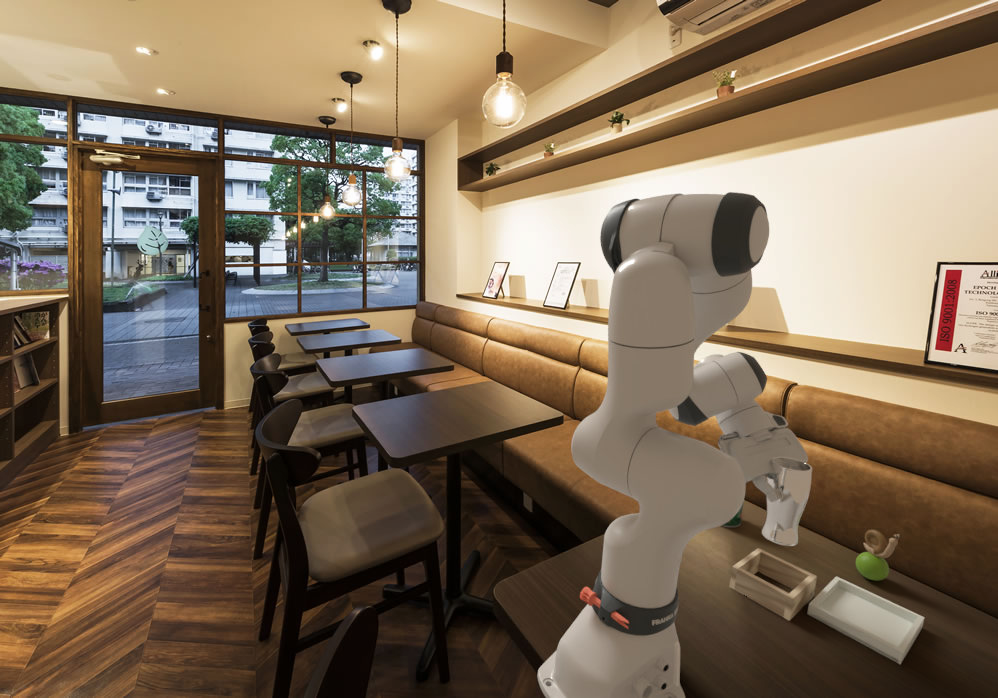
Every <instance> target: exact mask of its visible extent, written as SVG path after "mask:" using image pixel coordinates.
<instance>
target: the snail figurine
mask: <svg viewBox="0 0 998 698" xmlns="http://www.w3.org/2000/svg"><path fill="white" fill-rule="evenodd" d="M900 537H901V534H899V533H897V534H893V537H890V538H888V541H887V539H886V537H885V536H884V534H882V533H881V532H880V531H879V530H876V529H868V530H867V531H866V532H865V534H864V539H865V542H863V547H864V548H865V550H866V551H864V552H861V553H859V554H858V556H857V557H856V559H855V567H856V569H857V571H858V572H859V574H861V575H862V576H863V577H864V578H866V579H867V580H871V581H877V582H879V581H882V580H884V579H886V578H887V577H888V575H889V573H890V568H889V567H890V566H889V564H888V562H887V561H886V560H885V559H887V558H889V557H890V556H891V555H892V554H893V553H894V551H895V549H896V547H897V545H898V544H899V543H898V542H899V541H898V540H899V538H900Z"/></svg>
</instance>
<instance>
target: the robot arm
mask: <svg viewBox="0 0 998 698" xmlns="http://www.w3.org/2000/svg"><path fill="white" fill-rule="evenodd" d="M769 238H770V222H769V218H768V213H767V209H766V207H765V205H764V203H763V202H761V200H759V199H758V198H757V197H756V196H755V195H752V194H750V193H743V192H736V191H735V192H731V191H730V192H726V193H725V194H722V193H721V194H719V193H689V194H683V193H673V194H663V195H657V196H651V197H648V198H647V197H646V198H643V199H639V198H633V199H628V200H625V201H622V202H620V203H617V204H616V205H614V206H612V207H611V208H610V210H609V211H608V213H607V215H606V216H605V218H604V220H603V221H602V225H601V229H600V237H599V239H600V248H601V251H602V254H603V257H604V260H605V261H606V262H607V263H606V264H608V266H609V267H610V269H611V270H612V271H611V272H612V273H613V280H612V285H611V291H610V295H609V296H610V298H609V305H608V306H609V308H608V317H607V339H608V341H607V342H608V343H607V345H608V346H607V347H608V348H607V349H608V352H607V354H608V355H607V356H608V357H607V358H608V359H607V360H608V362H607V382H606V383H607V385H606V391H605V394H604V397H603V399H602V402H601V404H600V405H599V407H598V408H597V410H596V411H594V412H592V413H591V414H589V415H588V416H586V417H585V418H583V419H582V421H581V422H580V423H579V424H578V425H577V427H576V428H575V431H574V432H573V434H572V435H573V436H572V439H571V443H570V444H571V446H570V448H571V456H572V460H573V462H574V464H575V466H576V467H578V468H579V469H580V470H581V471H582V472H584V473H585V474H586V475H587V476H589V477H591V478H592V479H593V480H594V481H596V482H597V483H599V484H601V485H603V486H605V487H607V488H610V489H612V490H614V491H616V492H618V493H621V494H622V495H625V496H627V497H630V498H631V499H633V500H635V501H637V503H638V505H639V512H638V513H630V514H625V515H621V516H619V517H617V518H615V520H613V521H612V522H611V523H610V524H609V526H608V527H607V529H606V530H605V532H604V534H603V535H604V536H603V547H602V548H603V549H602V558H601V559H602V560H601V569H600V570H599V571H598V575H597V577H596V579H595V582H594V587H593V588H592V589H591V588H590V587H588V586H584V587H583V588H582V589H581V591H580V592H579V593H580V594H579V598H580V600H582V601H583V602H585V603H587V604H586V605H585V607H584V608H583V609H582V610H581V611H580V613H579V614H578V616H577V617H576V618H575V620H574V621H573V622H572V624H571V625H570V626H569V628H568V629H567V630H566V631H565V633H564V634H563V635H562V637H561V638H560V640H559V642H558V644H557V648H556V649H555V651H554V652H553V653H552V654H551V655H550V656H549V657H548V658H547V659H546V660H545V661H544V662H543V663H542V665H540V667H539V668H538V670H537V682H538V684H539V688H540V690H541V692H542V694H543V695H544V697H545V698H686V695H685V692H684V690H683V687H682V686H681V685H682V684H681V683H680V678H681V677H680V673H681V646H680V645H681V644H680V641H679V637H678V634H677V633H678V632H677V629H676V625H675V621H676V618H677V616H678V615H677V614H678V611H679V603H680V600H679V590H678V587H677V586H678V579H679V578H678V577H679V572H680V567H681V562H682V556H683V555H684V551H685V548H686V546H687V545H688V543H689V542H690V540H692V539H693V538H694V537H695V536H697V535H698V534H700V533H702V532H704V531H707V530H709V529H710V530H711V529H716V528H719V527H722V526H721V525H723V524H725V523H727V522H728V521H730V520H731V519H732V518H733V517H734V516H735V515H736V514H737V513H738V511H739V510H740V508H741V506H742V504H743V505H744V503H743V501H745V497H746V491H747V489H746V487H747V484H746V485H745V482H746V483H748V482H751V481H752V483H753V484H754V486H755V487H756V488H757V489H758V490H759V491H761V492H762V493H763V494H764V495H765V496H767V498H768V499H769V501H770V502H774V501H777V500H779V499H781V498H782V496H781V494H780V493H779V491H778V490H777V489H775V490H774V488H773V487H772V486H771V485H770V484H769V483H768V482H767V481H768V479H767V476H768V474H769V473H772V465H771V459H772V458H775V457H789V458H794V459H797V460H800V461H803V462H805V463H808V462H809V457H808V453H807V451H806V450H805V448H804V447H803V445H802V443H801V441H800V440H799V439H798V437H797V436H796V434H795V433H794V432H793V431H792V430H791V429H790V428H788V426H789V422H788V420H787V419H786V418H785V417H784V416H782V415H778V414H774V413H771V412H769V411H765V410H764V408H762V406H761V405H760V404H759V403H758V402H757V401H756V400H755V399H756V398H759V396H761V394H763V392H764V390H765V389H766V385H767V382H768V377H767V375H766V372H765V371H764V369H763V368H762V366H761V365H760V363H759V362H758V360H756V358H755V357H754V356H752V355H750V354H748V353H745V352H741V351H736V352H732V353H728V354H726V355H723V354H720V353H719V354H718V353H717V354H711V355H708V356H706V357H704V358H702V359H700V361H698V362H697V363H696V364H695V353H696V352H697V350H698V349H699V348H700V346H701V345H702V344H703V343H704V342H706V340H707V339H708V338H710V337H712V335H714V334H715V333H716V332H718V331H719V330H720V329H722V328H724V326H726V325H728V324H729V323H731V322H732V321H734V320H735V319H736V318H737V317H738V316H739V315H740V314H741V313H742V312H744V311H743V310H745V308H746V307H747V305H748V304H749V302H750V299H751V295H752V290H753V274H752V273H753V272H752V269H753V268H755V267H756V266H757V265H758V264H759V263H760V261H761V260H762V259H763V255H764V254H765V253H764V252H765V250H766V248H767V245H768V243H769ZM667 410H668V411H669V413H670V414H671V416H672V417H673V418H674V420H675V421H677V422H679V423H682V424H685V425H689V426H691V427H692V426H693V427H696V426H698V425H700V424H702V423H704V422H705V421H708V420H709V419H710V418H713V417H715V419H716V423H717V424H718V426H719V428H720V429H721V431H722V433H723V434H720V435H719V437H718V442H717V446H718V447H719V448H717V447H715V446H713V445H711V444H709V443H708V442H705V441H702V440H699V439H696V438H694V437H690V436H686V435H683V434H680V433H677V432H674V431H670V430H667V429H664V428H663V427H660V426H658V425H659V424H658V423H657V413H658V414H659V413H661V412H665V411H667ZM773 461H774V462H775V463H776V464H778V465H780V466H783V467H785V468H789V467H790V465H789V464H788V463H787V462H786V461H784V460H783V459H780V458H775V459H774V460H773Z"/></svg>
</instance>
